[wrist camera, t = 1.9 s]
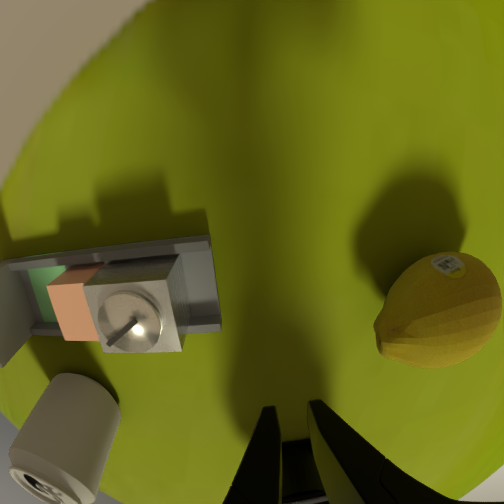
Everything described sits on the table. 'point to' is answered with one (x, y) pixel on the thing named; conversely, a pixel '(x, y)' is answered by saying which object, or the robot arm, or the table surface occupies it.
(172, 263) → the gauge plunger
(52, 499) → the can
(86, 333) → the block
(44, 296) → the gauge bench
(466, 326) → the lemon
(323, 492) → the robot arm
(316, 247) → the table surface
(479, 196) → the table surface
